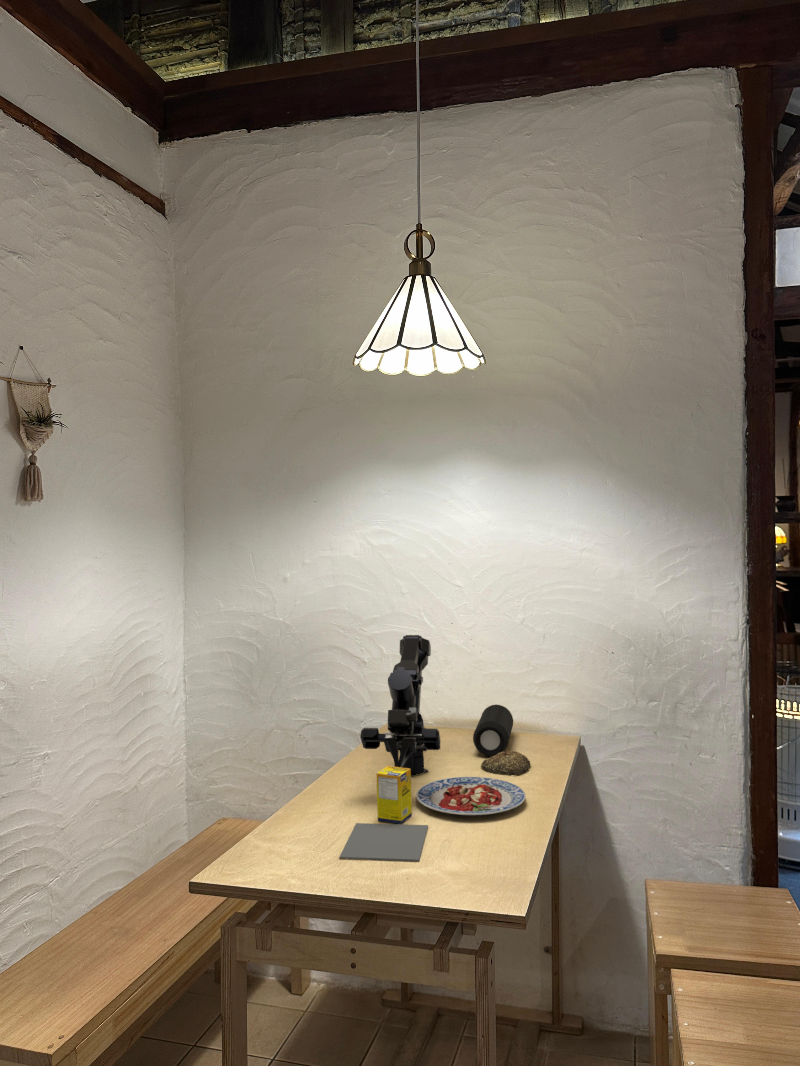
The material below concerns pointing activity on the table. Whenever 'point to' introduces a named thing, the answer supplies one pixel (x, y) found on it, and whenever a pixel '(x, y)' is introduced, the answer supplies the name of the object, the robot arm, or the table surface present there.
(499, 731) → the portable speaker
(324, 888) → the table surface
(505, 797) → the ceramic plate
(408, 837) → the rubber mat
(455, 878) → the table surface
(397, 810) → the supplement box
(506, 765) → the bread roll
